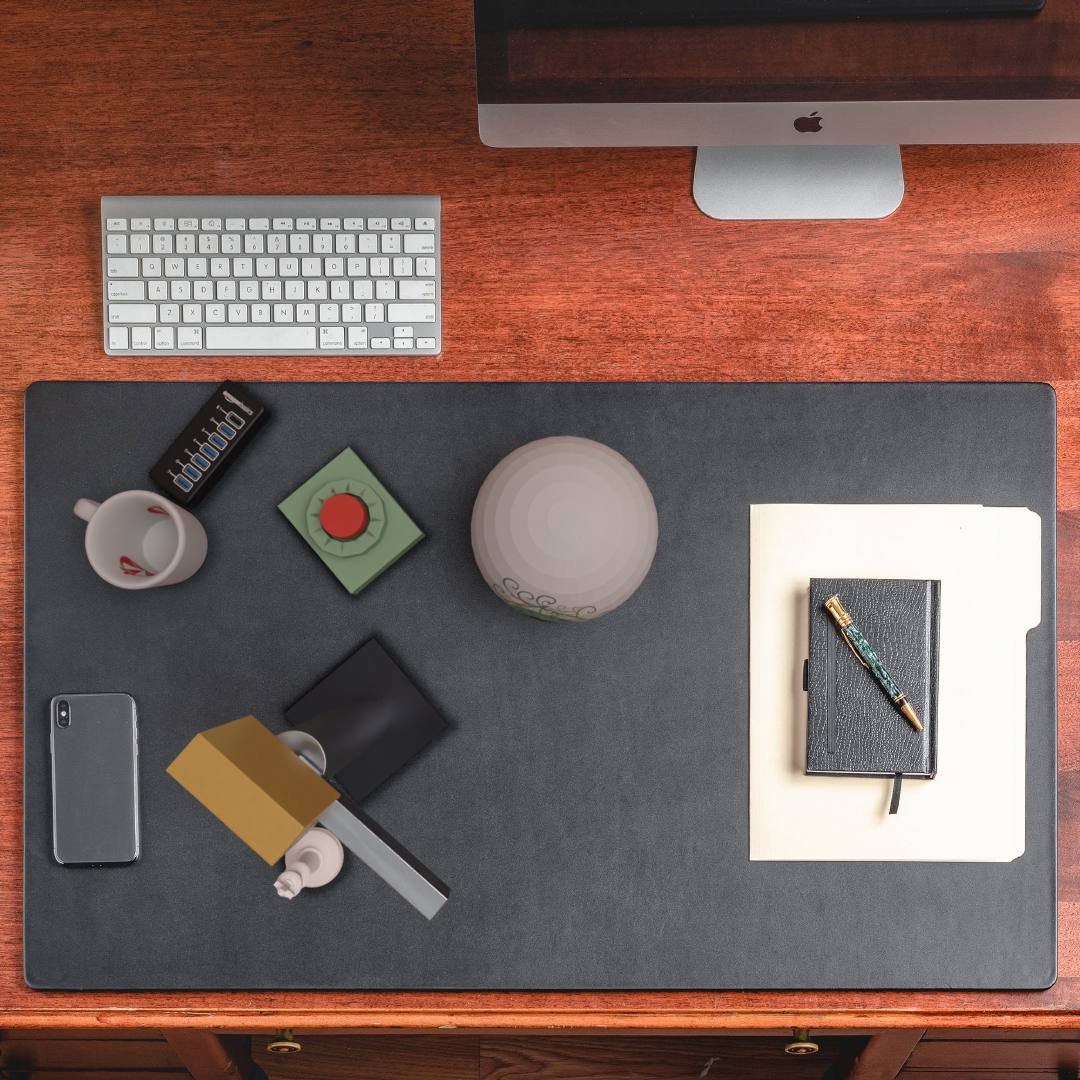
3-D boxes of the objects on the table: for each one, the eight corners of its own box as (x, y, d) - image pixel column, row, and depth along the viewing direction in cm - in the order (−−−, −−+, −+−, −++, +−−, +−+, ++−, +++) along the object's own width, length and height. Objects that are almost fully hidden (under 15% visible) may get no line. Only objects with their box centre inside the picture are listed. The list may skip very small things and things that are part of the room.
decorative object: (448, 579, 78) (427, 570, 63) (520, 427, 79) (517, 383, 64) (603, 651, 77) (619, 659, 62) (673, 497, 79) (705, 469, 64)
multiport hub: (157, 478, 79) (145, 474, 76) (235, 383, 79) (226, 376, 77) (195, 509, 78) (184, 506, 76) (273, 413, 79) (265, 407, 77)
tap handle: (235, 741, 53) (164, 770, 43) (261, 710, 53) (198, 732, 43) (429, 915, 52) (404, 986, 42) (456, 883, 52) (437, 946, 42)
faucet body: (288, 711, 77) (175, 755, 53) (376, 636, 77) (304, 645, 54) (361, 800, 76) (280, 885, 52) (449, 724, 77) (410, 773, 53)
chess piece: (311, 815, 76) (277, 844, 66) (355, 852, 76) (327, 887, 66) (274, 860, 76) (234, 897, 66) (318, 898, 76) (284, 940, 66)
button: (316, 515, 75) (311, 513, 73) (349, 488, 75) (344, 485, 73) (343, 547, 75) (338, 546, 73) (376, 520, 75) (372, 517, 73)
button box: (284, 509, 78) (270, 503, 74) (353, 451, 79) (344, 442, 75) (356, 594, 78) (346, 593, 74) (425, 535, 78) (419, 531, 74)
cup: (85, 550, 78) (34, 543, 70) (130, 472, 79) (84, 455, 71) (191, 607, 78) (152, 607, 70) (236, 528, 78) (202, 518, 70)
